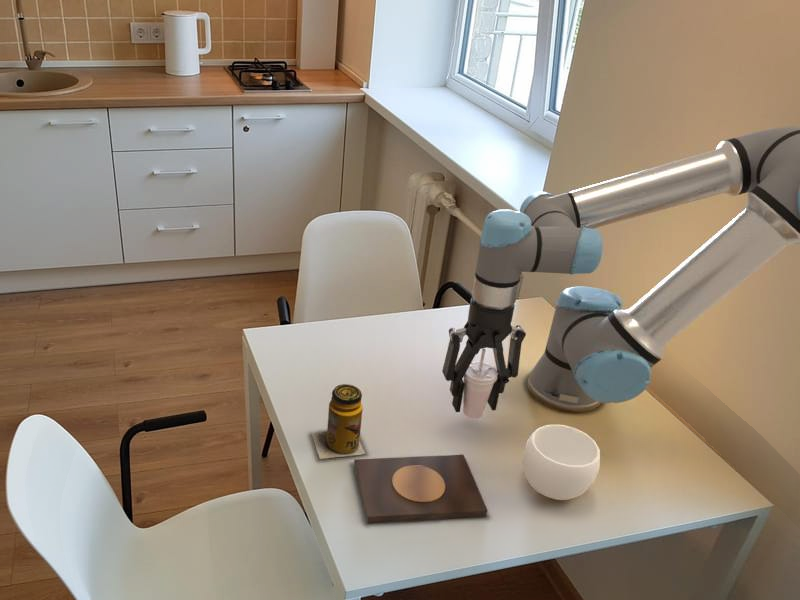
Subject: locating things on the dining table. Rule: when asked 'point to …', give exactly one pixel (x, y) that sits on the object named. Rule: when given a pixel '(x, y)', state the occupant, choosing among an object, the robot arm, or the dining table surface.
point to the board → (418, 488)
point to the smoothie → (478, 387)
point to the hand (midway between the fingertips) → (473, 406)
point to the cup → (561, 461)
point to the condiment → (342, 424)
